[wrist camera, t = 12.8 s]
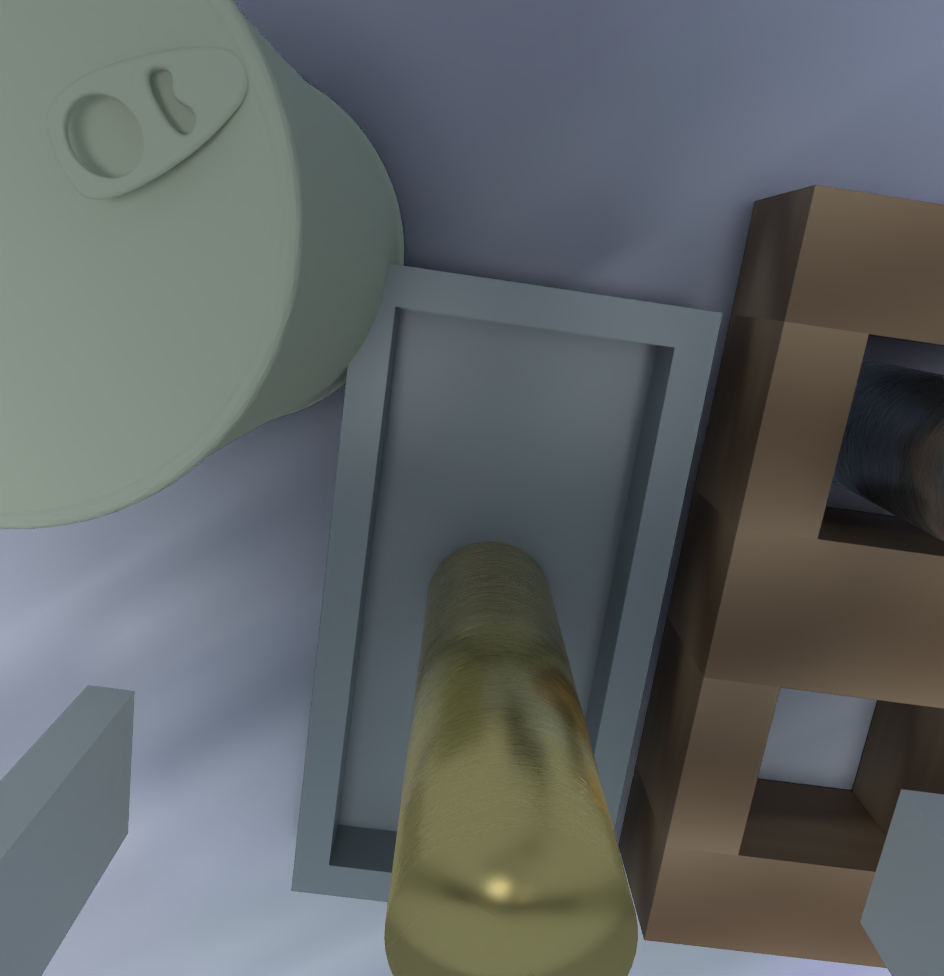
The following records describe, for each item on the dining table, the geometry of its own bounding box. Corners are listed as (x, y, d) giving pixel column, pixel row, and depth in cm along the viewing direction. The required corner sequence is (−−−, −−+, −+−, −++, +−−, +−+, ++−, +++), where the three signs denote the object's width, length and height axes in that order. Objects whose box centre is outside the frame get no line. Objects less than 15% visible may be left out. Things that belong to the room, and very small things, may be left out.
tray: (370, 261, 23) (359, 259, 21) (695, 309, 23) (722, 312, 21) (306, 835, 27) (291, 890, 25) (582, 868, 28) (594, 925, 25)
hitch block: (755, 200, 23) (815, 184, 19) (1078, 250, 23) (1203, 244, 19) (618, 846, 27) (644, 940, 23) (889, 878, 28) (958, 976, 24)
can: (462, 335, 23) (415, 382, 11) (168, 471, 24) (-149, 640, 12) (308, -5, 21) (63, -366, 10) (-1, 159, 22) (-553, 17, 11)
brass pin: (435, 533, 24) (400, 813, 12) (560, 550, 24) (660, 844, 12) (419, 649, 25) (370, 1027, 12) (540, 664, 25) (612, 1054, 13)
